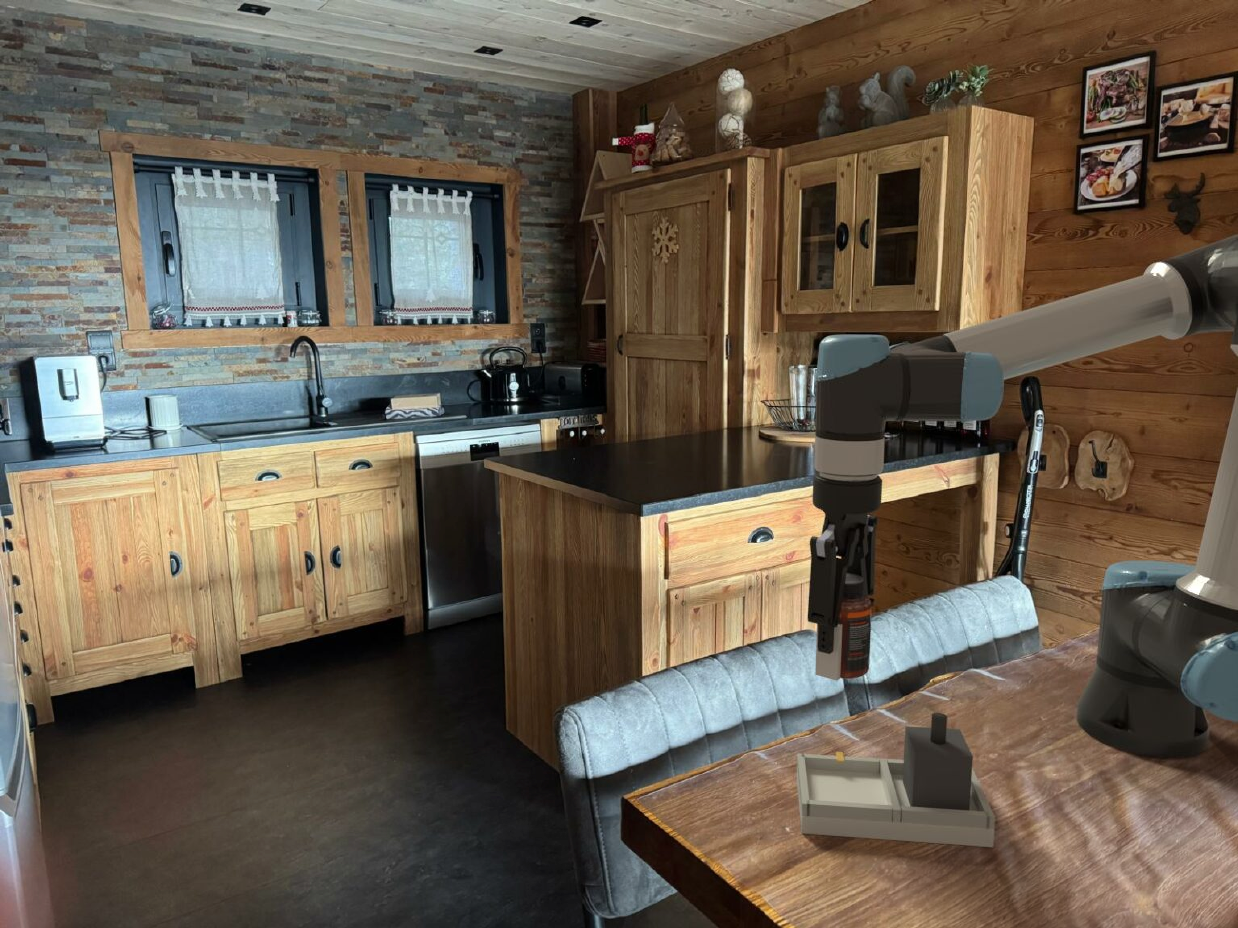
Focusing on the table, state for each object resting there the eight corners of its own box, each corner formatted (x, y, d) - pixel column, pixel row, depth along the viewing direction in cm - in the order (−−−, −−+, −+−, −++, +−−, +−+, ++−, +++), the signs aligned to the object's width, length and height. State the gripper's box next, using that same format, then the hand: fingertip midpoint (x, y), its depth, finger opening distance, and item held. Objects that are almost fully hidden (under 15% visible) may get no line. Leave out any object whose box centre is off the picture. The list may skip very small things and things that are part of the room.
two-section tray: (967, 787, 104) (969, 759, 103) (993, 847, 93) (995, 815, 92) (796, 777, 107) (797, 749, 106) (801, 833, 95) (802, 802, 95)
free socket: (877, 766, 105) (877, 754, 104) (891, 821, 94) (892, 807, 94) (796, 762, 106) (797, 749, 106) (802, 815, 95) (802, 801, 95)
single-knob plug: (956, 784, 101) (961, 704, 99) (969, 815, 95) (974, 730, 93) (902, 781, 102) (906, 702, 100) (911, 811, 96) (916, 727, 94)
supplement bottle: (878, 668, 102) (882, 576, 100) (854, 685, 98) (859, 589, 96) (831, 655, 106) (835, 566, 104) (807, 671, 102) (810, 578, 99)
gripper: (849, 457, 107) (842, 634, 112) (777, 484, 92) (772, 687, 97) (910, 463, 103) (900, 648, 107) (844, 493, 88) (836, 705, 92)
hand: (839, 666), depth 102 cm, fingers closed on supplement bottle, 6 cm apart
